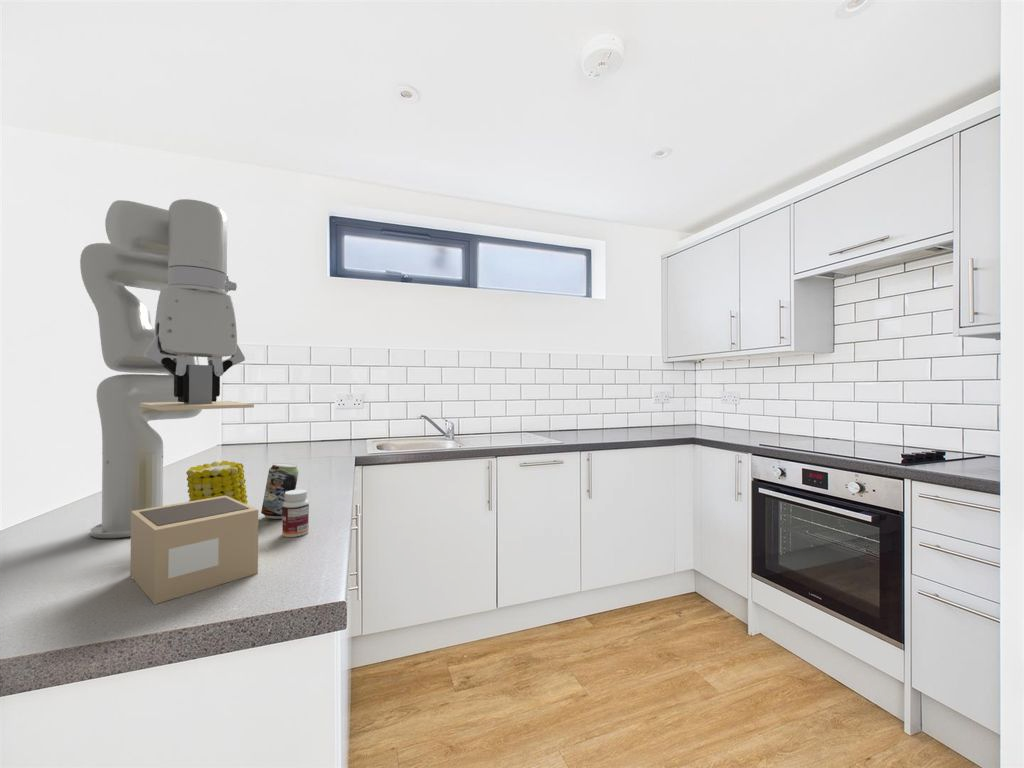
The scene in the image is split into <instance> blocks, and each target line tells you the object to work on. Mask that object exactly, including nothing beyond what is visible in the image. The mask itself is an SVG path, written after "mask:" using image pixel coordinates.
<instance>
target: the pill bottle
mask: <svg viewBox="0 0 1024 768" xmlns="http://www.w3.org/2000/svg"><path fill="white" fill-rule="evenodd" d="M307 498H308V491H307V490H306V489H295V490H291V491H287V492H285V502H284V503H283V505H282V514H283V515H282V518H281V519H282V522H281V523H282V536H283V537H285V536H286V537H285V538H297V536H298V537H302V536H305V535H307V534H308V533H309V530H310V527H309V526H310V525H309V523H310V522H309V521H310V520H309V519H310V517H309V515H310V513H309V512H310V501H309V500H308V499H307ZM301 535H302V536H301Z"/></svg>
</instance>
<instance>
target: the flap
mask: <svg viewBox="0 0 1024 768" xmlns="http://www.w3.org/2000/svg"><path fill="white" fill-rule="evenodd" d="M186 372H187V376H188V377H189V401H188V402H156V403H140V406H142V407H146V408H151V409H155V410H159V411H161V410H192V409H202V410H216V409H217V410H218V409H221V410H222V409H249V408H251V409H252V408H255V404H254V403H246V402H239V401H238V402H237V401H231V400H216V402H212V365H208V364H207V365H206V364H199V365H186Z"/></svg>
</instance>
